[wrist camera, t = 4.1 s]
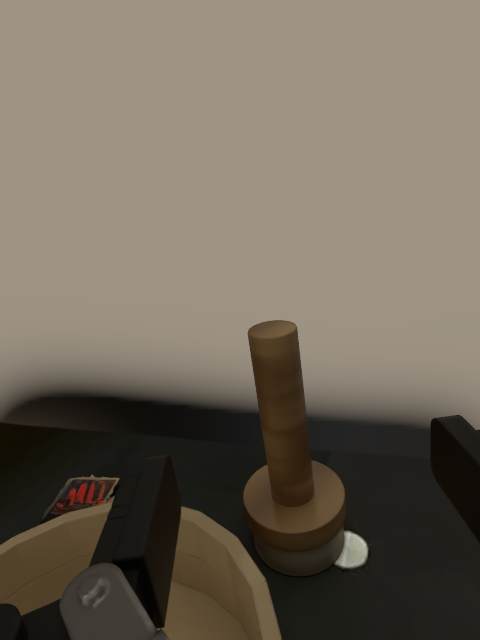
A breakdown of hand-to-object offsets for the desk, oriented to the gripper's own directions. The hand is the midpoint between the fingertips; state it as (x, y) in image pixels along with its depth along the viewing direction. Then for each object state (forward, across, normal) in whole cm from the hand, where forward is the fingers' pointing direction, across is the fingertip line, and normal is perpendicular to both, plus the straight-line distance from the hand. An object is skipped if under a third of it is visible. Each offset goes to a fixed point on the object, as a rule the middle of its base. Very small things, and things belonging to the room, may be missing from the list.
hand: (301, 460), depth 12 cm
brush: (+6, 0, +10) cm, 12 cm away
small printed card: (+11, +13, +10) cm, 20 cm away
